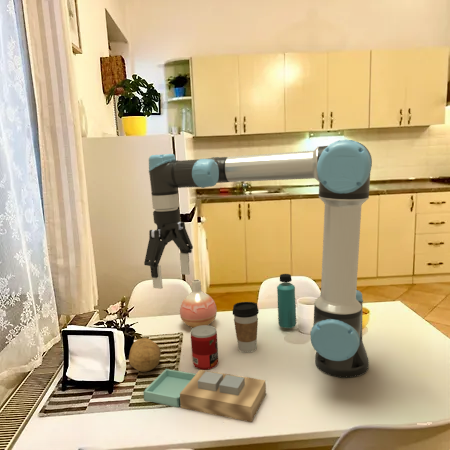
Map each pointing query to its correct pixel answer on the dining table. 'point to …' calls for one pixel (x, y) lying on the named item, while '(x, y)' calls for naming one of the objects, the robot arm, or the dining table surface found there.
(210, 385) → the tile
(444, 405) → the dining table surface
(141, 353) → the potato
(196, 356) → the canned food
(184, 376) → the tray
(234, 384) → the tile
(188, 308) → the vase
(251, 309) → the coffee cup
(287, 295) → the beverage bottle
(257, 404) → the oak board
